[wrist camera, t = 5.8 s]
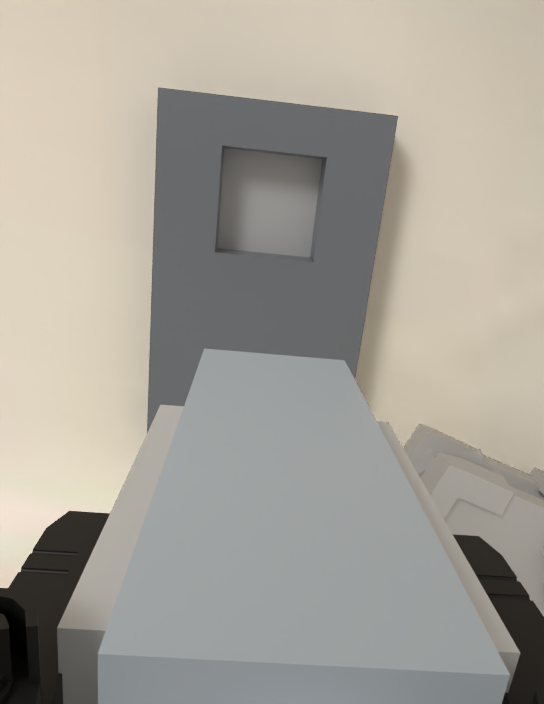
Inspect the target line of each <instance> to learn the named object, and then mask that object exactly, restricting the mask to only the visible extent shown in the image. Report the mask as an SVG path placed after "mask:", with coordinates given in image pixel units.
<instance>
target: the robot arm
mask: <svg viewBox="0 0 544 704" xmlns="http://www.w3.org/2000/svg"><path fill="white" fill-rule="evenodd" d="M183 408H184V406H173V405H160V407H159V409H158V411H157V413H156V415H155V418H154V420H153V422H152V424H151V426H150V428H149V431H148V433H147V435H146V437H145V439H144V441H143V444H142V446H141V448H140V450H139V452H138V454H137V456H136V459H135V461H134V463H133V465H132V467H131V469H130V472H129V474H128V476H127V478H126V480H125V482H124V485H123V487H122V489H121V491H120V493H119V495H118V497H117V500H116V502H115V504H114V506H113V508H112V510H111V513H110V514H108V513H93V512H77V511H69V512H67V513H66V514H65V515H63V516H62V517H61V518H59V519H58V520H57V521H55V522H54V523H53V524H51V525H50V526H49V527H47V528H46V530H45V531H44V533H43V534H42V536H41V538H40V539H39V541H38V542H37V544H36V545H35V547H34V549H33V553H32V554H30V555H29V556H28V558H27V560H26V561H25V563H24V564H23V566H22V568H21V572H18V574H17V575H16V577H15V579H14V580H13V582H12V583H11V585H10V586H9V588H0V704H98V652H99V649H100V646H101V643H102V640H103V637H104V634H105V631H106V629H107V626H108V623H109V620H110V617H111V614H112V611H113V609H114V606H115V603H116V600H117V597H118V594H119V591H120V588H121V586H122V583H123V580H124V577H125V574H126V571H127V568H128V566H129V563H130V560H131V557H132V554H133V551H134V548H135V545H136V543H137V540H138V537H139V534H140V531H141V528H142V525H143V523H144V520H145V517H146V514H147V511H148V508H149V505H150V502H151V500H152V497H153V494H154V491H155V488H156V485H157V482H158V480H159V477H160V474H161V471H162V468H163V465H164V462H165V459H166V457H167V454H168V451H169V448H170V445H171V442H172V439H173V437H174V434H175V431H176V428H177V425H178V422H179V419H180V416H181V414H182V411H183ZM377 423H378V425H379V426H380V428H381V430H382V432H383V434H384V436H385V438H386V440H387V442H388V444H389V445H390V447H391V449H392V451H393V453H394V455H395V457H396V459H397V461H398V463H399V465H400V466H401V468H402V470H403V472H404V474H405V476H406V478H407V480H408V482H409V484H410V485H411V487H412V489H413V491H414V493H415V495H416V497H417V499H418V501H419V503H420V504H421V506H422V508H423V510H424V512H425V514H426V516H427V518H428V520H429V522H430V523H431V525H432V527H433V529H434V531H435V533H436V535H437V537H438V539H439V541H440V542H441V544H442V546H443V548H444V550H445V552H446V554H447V556H448V558H449V560H450V561H451V563H452V565H453V567H454V569H455V571H456V573H457V575H458V577H459V579H460V581H461V582H462V584H463V586H464V588H465V590H466V592H467V594H468V596H469V598H470V600H471V601H472V603H473V605H474V607H475V609H476V611H477V613H478V615H479V617H480V619H481V620H482V622H483V624H484V626H485V628H486V630H487V632H488V634H489V636H490V638H491V639H492V641H493V643H494V645H495V647H496V649H497V651H498V653H499V655H500V657H501V658H502V660H503V662H504V664H505V666H506V668H507V670H508V672H509V674H510V678H509V681H508V684H507V688H506V691H505V694H504V698H503V701H502V704H544V616H543V615H542V613H541V612H540V610H539V609H538V607H537V606H536V604H535V603H534V602H533V601H531V600H530V598H529V594H528V593H527V591H526V590H525V588H524V587H523V585H522V584H521V582H519V581H517V576H516V575H515V574H514V572H513V571H512V569H511V568H510V566H509V565H508V563H507V562H506V560H505V559H504V557H503V556H502V555H501V554H500V553H499V552H498V551H496V550H495V549H494V548H493V547H492V546H490V545H489V544H488V543H487V542H486V541H484V540H483V539H482V538H481V537H479V536H470V535H455V534H452V533H451V531H450V529H449V527H448V526H447V524H446V522H445V521H444V519H443V517H442V515H441V514H440V512H439V510H438V508H437V507H436V505H435V503H434V501H433V500H432V498H431V496H430V494H429V493H428V491H427V489H426V487H425V486H424V484H423V482H422V480H421V479H420V477H419V475H418V473H417V472H416V470H415V468H414V466H413V465H412V463H411V461H410V459H409V458H408V456H407V454H406V452H405V451H404V449H403V447H402V445H401V444H400V442H399V440H398V438H397V437H396V435H395V433H394V432H393V430H392V428H391V426H390V425H389V423H388V422H379V421H377Z"/></svg>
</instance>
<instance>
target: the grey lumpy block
mask: <svg viewBox="0 0 544 704" xmlns="http://www.w3.org/2000/svg"><path fill="white" fill-rule="evenodd" d="M403 449H404V451H405V452H406V454H407V456H408V458H409V459H410V461H411V463H412V465H413V466H414V468H415V470H416V472H417V473H418V475H419V477H420V479H421V480H422V482H423V484H424V486H425V487H426V489H427V491H428V493H429V494H430V496H431V498H432V500H433V501H434V503H435V505H436V507H437V508H438V510H439V512H440V514H441V515H442V517H443V519H444V521H445V522H446V524H447V526H448V527H449V529H450V531H451V533H452V534H455V535H470V536H479V537H481V538H482V539H483V540H484V541H486V542H487V543H488V544H489V545H490V546H492V547H493V548H494V549H495V550H496V551H498V552H499V553H500V554H501V555H502V556H503V557H504V559H505V560H506V562H507V563H508V565H509V566H510V568H511V569H512V571H513V572H514V574H515V575H516V576H517V581H519V582H521V584H522V585H523V587H524V588H525V590H526V591H527V593H528V594H529V598H530V600H531V601H533V602H534V603H535V604H536V606H537V607H538V609H539V610H540V612H541V613H542V615H543V616H544V471H542V470H539V469H537V468H534V469H533V471H532V472H531V474H530V475H527V474H525V473H523V472H521V471H518V470H516V469H514V468H511V467H509V466H507V465H505V464H502V463H500V462H498V461H495V460H493V459H491V458H489V457H486V456H485V455H483V454H482V452H481V450H480V449H479V450H477V449H475V448H474V447H471V446H469V445H467V444H465V443H463V442H461V441H459V440H457V439H455V438H452V437H450V436H448V435H446V434H444V433H442V432H440V431H438V430H435V429H433V428H430V427H427V426H425V425H422V424H419V425H418V427H417V428H416V430H415V431H414V433H413V434H412V436H411V437H410V439H409V440H408V442H407V443H406V445H405V447H404V448H403Z"/></svg>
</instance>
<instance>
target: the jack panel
mask: <svg viewBox="0 0 544 704" xmlns="http://www.w3.org/2000/svg"><path fill="white" fill-rule="evenodd" d="M397 119H398V116H393V115H385V114H376V113H368V112H360V111H351V110H343V109H334V108H326V107H318V106H309V105H301V104H292V103H284V102H275V101H267V100H259V99H250V98H242V97H233V96H225V95H217V94H208V93H200V92H191V91H183V90H175V89H166V88H158V107H157V138H156V170H155V202H154V233H153V265H152V296H151V328H150V359H149V391H148V423H147V433H148V431H149V428H150V426H151V424H152V422H153V420H154V418H155V415H156V413H157V411H158V409H159V407H160V405H173V406H184V405H185V402H186V399H187V396H188V394H189V391H190V388H191V385H192V382H193V379H194V376H195V373H196V371H197V368H198V365H199V362H200V359H201V356H202V353H203V351H204V348H205V349H217V350H228V351H240V352H252V353H264V354H276V355H288V356H300V357H312V358H324V359H336V360H345V362H346V364H347V366H348V368H349V369H350V371H351V373H352V375H353V377H354V379H355V376H356V370H357V363H358V357H359V351H360V345H361V339H362V333H363V327H364V321H365V315H366V309H367V302H368V296H369V290H370V284H371V278H372V272H373V266H374V260H375V254H376V248H377V241H378V235H379V229H380V223H381V217H382V211H383V205H384V199H385V193H386V187H387V180H388V174H389V168H390V162H391V156H392V150H393V144H394V138H395V132H396V126H397Z"/></svg>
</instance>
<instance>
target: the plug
mask: <svg viewBox="0 0 544 704" xmlns="http://www.w3.org/2000/svg"><path fill="white" fill-rule="evenodd" d="M509 678H510V674H509V672H508V670H507V668H506V666H505V664H504V662H503V660H502V658H501V657H500V655H499V653H498V651H497V649H496V647H495V645H494V643H493V641H492V639H491V638H490V636H489V634H488V632H487V630H486V628H485V626H484V624H483V622H482V620H481V619H480V617H479V615H478V613H477V611H476V609H475V607H474V605H473V603H472V601H471V600H470V598H469V596H468V594H467V592H466V590H465V588H464V586H463V584H462V582H461V581H460V579H459V577H458V575H457V573H456V571H455V569H454V567H453V565H452V563H451V561H450V560H449V558H448V556H447V554H446V552H445V550H444V548H443V546H442V544H441V542H440V541H439V539H438V537H437V535H436V533H435V531H434V529H433V527H432V525H431V523H430V522H429V520H428V518H427V516H426V514H425V512H424V510H423V508H422V506H421V504H420V503H419V501H418V499H417V497H416V495H415V493H414V491H413V489H412V487H411V485H410V484H409V482H408V480H407V478H406V476H405V474H404V472H403V470H402V468H401V466H400V465H399V463H398V461H397V459H396V457H395V455H394V453H393V451H392V449H391V447H390V445H389V444H388V442H387V440H386V438H385V436H384V434H383V432H382V430H381V428H380V426H379V425H378V423H377V421H376V419H375V417H374V415H373V413H372V411H371V409H370V407H369V406H368V404H367V402H366V400H365V398H364V396H363V394H362V392H361V390H360V388H359V387H358V385H357V383H356V381H355V379H354V377H353V375H352V373H351V371H350V369H349V368H348V366H347V364H346V362H345V360H336V359H324V358H312V357H300V356H288V355H276V354H264V353H252V352H240V351H228V350H217V349H205V348H204V351H203V353H202V356H201V359H200V362H199V365H198V368H197V371H196V373H195V376H194V379H193V382H192V385H191V388H190V391H189V394H188V396H187V399H186V402H185V405H184V408H183V411H182V414H181V416H180V419H179V422H178V425H177V428H176V431H175V434H174V437H173V439H172V442H171V445H170V448H169V451H168V454H167V457H166V459H165V462H164V465H163V468H162V471H161V474H160V477H159V480H158V482H157V485H156V488H155V491H154V494H153V497H152V500H151V502H150V505H149V508H148V511H147V514H146V517H145V520H144V523H143V525H142V528H141V531H140V534H139V537H138V540H137V543H136V545H135V548H134V551H133V554H132V557H131V560H130V563H129V566H128V568H127V571H126V574H125V577H124V580H123V583H122V586H121V588H120V591H119V594H118V597H117V600H116V603H115V606H114V609H113V611H112V614H111V617H110V620H109V623H108V626H107V629H106V631H105V634H104V637H103V640H102V643H101V646H100V649H99V652H98V704H502V701H503V698H504V694H505V691H506V688H507V684H508V681H509Z"/></svg>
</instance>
